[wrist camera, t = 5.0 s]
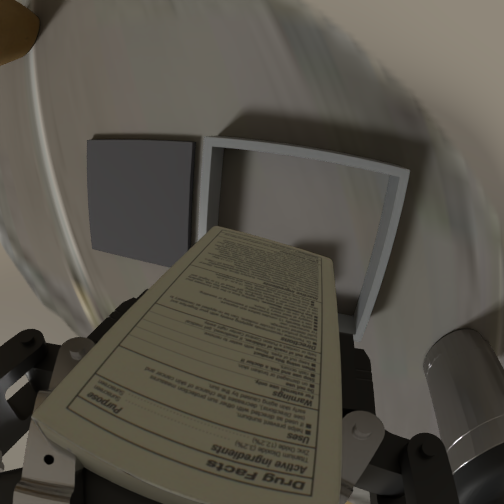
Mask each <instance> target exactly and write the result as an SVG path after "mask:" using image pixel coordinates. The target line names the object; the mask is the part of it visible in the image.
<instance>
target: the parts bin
mask: <svg viewBox="0 0 504 504" xmlns="http://www.w3.org/2000/svg"><path fill="white" fill-rule="evenodd" d="M224 148H234V149H243V150H252V151H260V152H268V153H275V154H282V155H289V156H296V157H302V158H308V159H314V160H320V161H326V162H331V163H336V164H342V165H347V166H352V167H357V168H361V169H366V170H371V171H375V172H380V173H384V174H388V175H390V178H389V183H388V188H387V193H386V198H385V202H384V207H383V211H382V216H381V220H380V224H379V228H378V232H377V236H376V240H375V244H374V248H373V252H372V256H371V259H370V263H369V266H368V270H367V273H366V277H365V280H364V284H363V287H362V290H361V293H360V297H359V300H358V303H357V306H356V309H355V312H354V315H353V316H352V315H346V314H340V313H338V325H339V332H344V333H350V334H353V339H354V341H358V342H360V341H361V339H362V336H363V334H364V331H365V329H366V326H367V323H368V320H369V318H370V315H371V312H372V309H373V307H374V304H375V301H376V298H377V295H378V292H379V289H380V286H381V283H382V280H383V276H384V273H385V270H386V267H387V263H388V260H389V257H390V253H391V250H392V246H393V242H394V239H395V235H396V231H397V227H398V223H399V219H400V215H401V211H402V207H403V202H404V198H405V193H406V189H407V184H408V179H409V174H410V170H409V169H406V168H404V167H402V166H400V165H396V164H392V163H388V162H383V161H379V160H375V159H370V158H366V157H361V156H356V155H351V154H346V153H341V152H336V151H331V150H325V149H319V148H314V147H307V146H301V145H295V144H288V143H280V142H273V141H265V140H257V139H248V138H238V137H227V136H206V137H204V144H203V157H202V171H201V187H200V204H199V225H198V241H199V240H200V239H201V238H202V237H203V236H204V235H205V234H206V233H207V232H208V231H209V230H210V229H211V228H212V227H214V226H218V217H219V203H220V190H221V177H222V165H223V154H224Z"/></svg>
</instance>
